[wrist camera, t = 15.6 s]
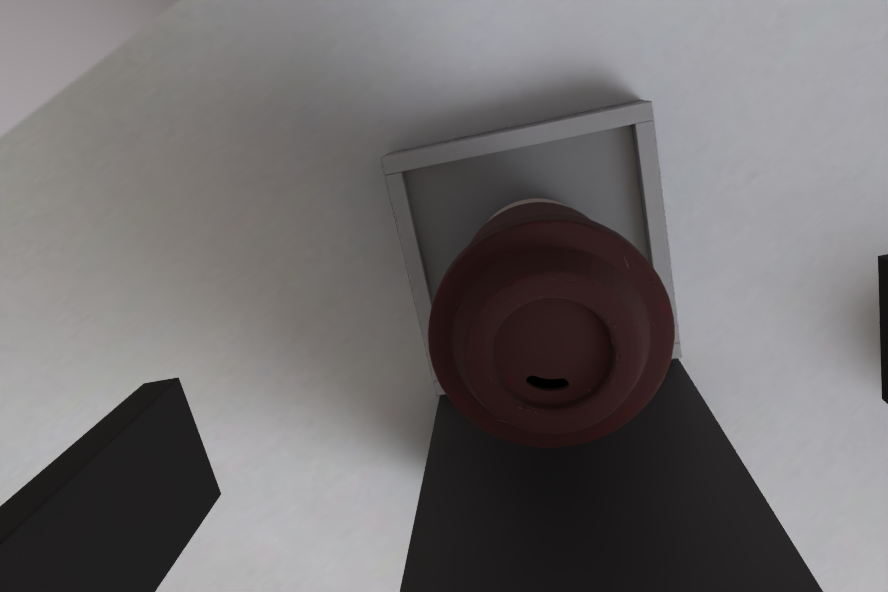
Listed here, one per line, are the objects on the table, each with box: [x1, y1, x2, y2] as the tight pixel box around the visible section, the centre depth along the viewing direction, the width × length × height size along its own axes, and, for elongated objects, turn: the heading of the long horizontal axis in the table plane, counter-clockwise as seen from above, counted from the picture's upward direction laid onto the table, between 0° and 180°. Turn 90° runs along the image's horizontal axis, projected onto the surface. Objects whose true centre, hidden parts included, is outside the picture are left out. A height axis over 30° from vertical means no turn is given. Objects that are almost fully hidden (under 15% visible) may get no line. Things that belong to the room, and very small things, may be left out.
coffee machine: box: [381, 100, 823, 592], centre depth 28 cm, size 24×15×31 cm, turn 12°
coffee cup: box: [428, 198, 675, 448], centre depth 33 cm, size 10×10×15 cm
